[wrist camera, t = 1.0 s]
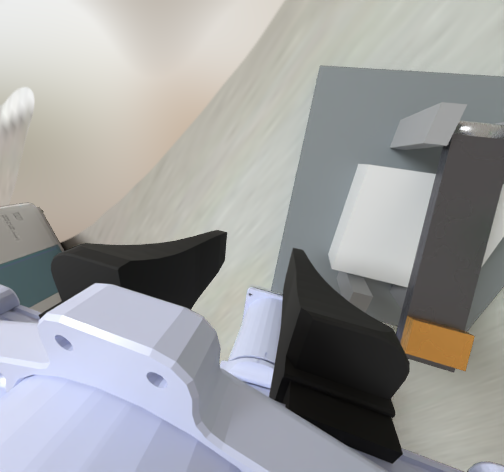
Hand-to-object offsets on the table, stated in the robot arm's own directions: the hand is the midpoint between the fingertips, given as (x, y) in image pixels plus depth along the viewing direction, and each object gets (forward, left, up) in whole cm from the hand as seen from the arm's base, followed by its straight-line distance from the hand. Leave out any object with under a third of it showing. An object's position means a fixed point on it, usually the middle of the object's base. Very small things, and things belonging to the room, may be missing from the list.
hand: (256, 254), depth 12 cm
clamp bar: (+2, -11, -3) cm, 12 cm away
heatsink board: (+1, -11, -10) cm, 15 cm away
